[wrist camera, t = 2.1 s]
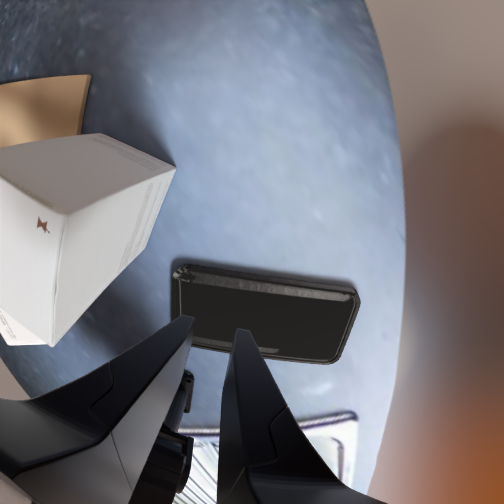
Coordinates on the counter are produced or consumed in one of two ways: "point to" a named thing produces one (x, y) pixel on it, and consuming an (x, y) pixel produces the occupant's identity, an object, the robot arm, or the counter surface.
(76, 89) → the wooden cutting board
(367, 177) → the counter surface
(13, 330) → the external hard drive
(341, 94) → the counter surface
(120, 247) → the supplement box
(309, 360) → the phone
